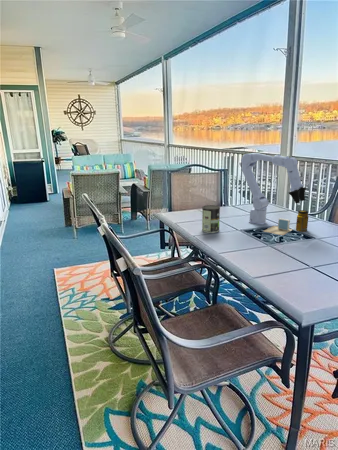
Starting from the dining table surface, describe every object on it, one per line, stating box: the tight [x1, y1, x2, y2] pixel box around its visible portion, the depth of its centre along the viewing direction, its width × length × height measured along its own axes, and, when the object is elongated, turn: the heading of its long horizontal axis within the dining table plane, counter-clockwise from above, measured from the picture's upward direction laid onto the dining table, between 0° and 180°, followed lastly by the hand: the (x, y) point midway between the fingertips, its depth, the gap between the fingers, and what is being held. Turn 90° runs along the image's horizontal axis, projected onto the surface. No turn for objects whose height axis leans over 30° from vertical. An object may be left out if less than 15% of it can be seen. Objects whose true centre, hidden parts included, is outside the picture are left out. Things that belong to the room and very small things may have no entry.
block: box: [277, 218, 291, 230], centre depth 186 cm, size 6×2×6 cm, turn 48°
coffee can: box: [201, 204, 221, 234], centre depth 187 cm, size 10×10×14 cm
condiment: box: [295, 209, 309, 233], centre depth 183 cm, size 7×8×12 cm
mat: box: [263, 225, 293, 236], centre depth 185 cm, size 12×14×1 cm
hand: (300, 201), depth 182 cm, fingers open, 7 cm apart
